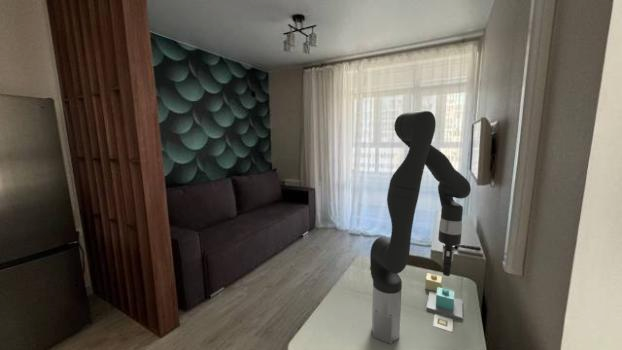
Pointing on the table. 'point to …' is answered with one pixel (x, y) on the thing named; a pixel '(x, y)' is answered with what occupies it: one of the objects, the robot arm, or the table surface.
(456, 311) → the plate
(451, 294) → the teal brick
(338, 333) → the table surface
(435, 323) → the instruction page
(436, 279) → the yellow knobbed block
